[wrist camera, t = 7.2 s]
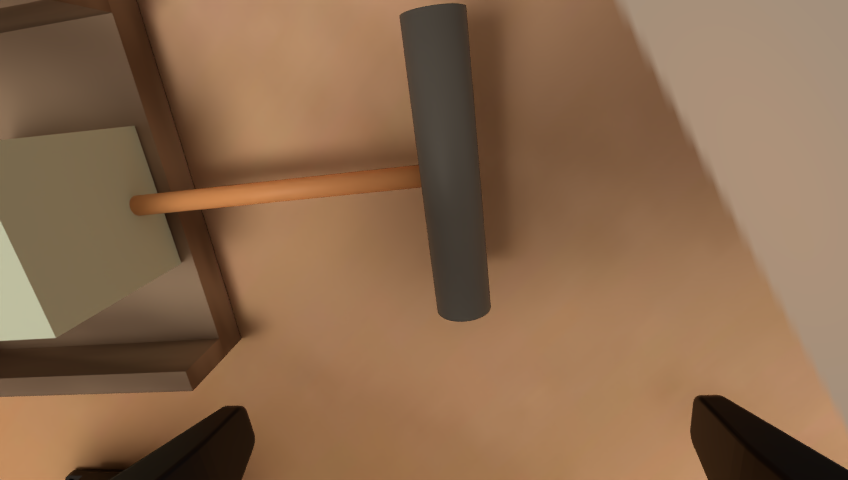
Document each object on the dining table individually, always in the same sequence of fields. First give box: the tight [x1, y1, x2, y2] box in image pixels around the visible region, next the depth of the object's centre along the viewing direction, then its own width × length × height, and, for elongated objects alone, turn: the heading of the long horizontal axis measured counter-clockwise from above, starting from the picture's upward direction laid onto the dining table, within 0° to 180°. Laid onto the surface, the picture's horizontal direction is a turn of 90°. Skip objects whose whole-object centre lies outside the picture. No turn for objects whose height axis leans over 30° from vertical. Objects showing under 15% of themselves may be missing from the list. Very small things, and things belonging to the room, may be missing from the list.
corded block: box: [0, 3, 491, 341], centre depth 14 cm, size 10×20×6 cm, turn 97°
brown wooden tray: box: [0, 0, 241, 397], centre depth 18 cm, size 16×14×4 cm
